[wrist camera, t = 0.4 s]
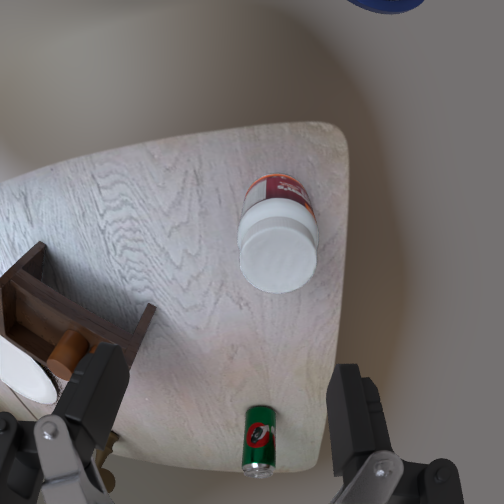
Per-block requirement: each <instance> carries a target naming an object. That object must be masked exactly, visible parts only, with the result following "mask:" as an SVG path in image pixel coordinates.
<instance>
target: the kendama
mask: <svg viewBox="0 0 504 504" xmlns="http://www.w3.org/2000/svg"><path fill="white" fill-rule="evenodd" d="M118 439H119V438H118V436H117V435H116V434H115V433H113V432H110V435H109V438H108V440H107V443H106V446H105V449H104V451H102V450H99V449H96V460H95V463H96V466H97V468H98V471H99V473H100V476H101V478H102V481H103V483H104V485H105V488H106V490H107V492H108V493H110V492H112V491H113V489H114V487H115V478H114V476H113V474H112V473H111V472H110V471H109V470H106V469H104V468H101V467H102V465H103V463H104V461H105V459H106V458H107V456H108V455H109V454H110V453H112V452H113V450H112V446H113V444H114V443H115V442H116V441H118Z"/></svg>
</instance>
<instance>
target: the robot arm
mask: <svg viewBox="0 0 504 504" xmlns="http://www.w3.org/2000/svg"><path fill="white" fill-rule="evenodd" d="M386 1H399V0H386ZM129 377H130V373H129V368H128V365H127V362H126V359H125V356H124V354H123V351H122V348H121V346H120V345H118V344H112V343H107V342H100V343H99V345H98V346H97V348H96V350H95V352H94V353H88V354H86V355H85V356H84V357H83V358H82V359H81V360H80V361H79V362H78V364H77V366H76V368H75V370H74V373H73V374H72V376H71V377H70V379H69V380H70V381H69V382H68V383H67V385H66V387H65V389H64V391H63V393H62V395H61V397H60V399H59V401H58V403H57V405H56V407H55V409H54V411H53V412H52V414H51V415H45V416H43V417H41V418H40V419H39V420H38V421H36V422H34V421H17V420H16V418H15V417H14V416H13V415H12V414H11V413H9V412H0V504H36V503H37V499H38V496H39V492H40V489H41V491H42V494H43V498H44V501H45V504H115V503H114V502H113V501H112V499H111V498H110V496H109V494H108V492H107V490H106V488H105V485H104V483H103V481H102V478H101V476H100V473H99V471H98V468H97V466H96V463H95V461H94V458H93V456H92V454H93V451H94V448H95V449H99V450H102V451H104V449H105V446H106V443H107V440H108V438H109V435H110V432H111V429H112V426H113V424H114V421H115V418H116V415H117V413H118V410H119V407H120V404H121V402H122V399H123V396H124V394H125V391H126V389H127V386H128V383H129ZM326 404H327V413H328V421H329V430H330V440H331V449H332V460H333V471H334V477H337V476H343V482H344V484H343V486H342V487H341V488H340V490H339V491H338V493H337V494H336V495H335V496H334V498H333V499H332V501H331V502H330V503H329V504H464V500H463V494H462V489H461V483H460V479H459V474H458V470H457V467H456V466H455V464H453V462H451V461H450V460H448V459H443V458H440V459H436V460H434V461H432V462H431V463H430V464H420V463H413V462H407V461H404V460H402V459H401V458H399V456H398V455H396V454H395V453H394V451H393V449H392V447H391V443H390V438H389V434H388V430H387V425H386V421H385V417H384V413H383V408H382V405H381V403H380V396H379V393H378V389H377V387H376V386H375V384H374V383H373V382H372V380H371V379H370V378H369V377H366V378H361V376H360V371H359V367H358V365H357V364H336V366H335V368H334V371H333V374H332V377H331V380H330V382H329V385H328V388H327V393H326ZM44 478H45V481H44V482H43V479H44ZM42 482H43V483H42Z"/></svg>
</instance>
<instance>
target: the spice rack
mask: <svg viewBox="0 0 504 504" xmlns="http://www.w3.org/2000/svg"><path fill="white" fill-rule="evenodd" d="M45 248H46V245H45V244H44V243H42V242H41V241H39V242H38V243H37V244H36V245H34V246H33V247H32V248H31V249H30V250H29V251H28V252H27V253H26V254H24V255H23V256H22V257H21V258H20V259H19V260H18V261H17V262H16V263H15V264H14V265H13V266H12V267H11V268H10V269H9V270H8V271H6V272H5V273H4V274H3V275H2V276H1V277H0V335H1V336H2V337H3V338H5V339H6V340H7V341H9V342H10V343H11V344H13V345H14V346H16V347H17V348H19V349H20V350H21V351H23V352H24V353H26V354H27V355H29V356H30V357H32V358H33V359H35V360H37V361H38V362H40V363H41V364H43V365H44V366H46V367H48V368H49V369H50V370H51V372H52V373H54V374H55V375H56V376H57V377H59V378H61V379H63V380H66V381H70V380H69V379H70V377H71V376H72V374H73V373H74V370H75V368H76V366H77V364H78V362H79V361H80V360H81V359H82V358H83V357H84V356H85V355H86V354H88V353H94V352H95V350H96V348H97V346H98V345H99V343H100V342H107V343H112V344H118V345H120V346H121V348H122V351H123V354H124V356H125V359H126V362H127V365H128V368H129V371H130V369H131V366H132V364H133V361H134V359H135V357H136V354H137V352H138V349H139V347H140V345H141V342H142V340H143V338H144V335H145V333H146V331H147V328H148V326H149V324H150V321H151V319H152V317H153V315H154V312H155V310H156V308H157V307H156V306H154V305H152V304H150V303H148V305H147V307H146V309H145V311H144V313H143V315H142V317H141V319H140V321H139V323H138V325H137V328H136V330H135V332H134V334H131V333H129V332H127V331H125V330H123V329H122V328H120V327H118V326H116V325H114V324H112V323H110V322H108V321H107V320H105V319H103V318H101V317H99V316H97V315H96V314H94V313H92V312H90V311H89V310H87V309H85V308H83V307H82V306H80V305H78V304H76V303H75V302H73V301H71V300H70V299H68V298H66V297H65V296H63V295H61V294H60V293H58V292H57V291H55V290H53V289H52V288H50V287H49V286H47V285H45V284H44V283H42V282H41V281H42V272H43V263H44V256H45Z"/></svg>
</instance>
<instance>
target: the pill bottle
mask: <svg viewBox="0 0 504 504" xmlns="http://www.w3.org/2000/svg"><path fill="white" fill-rule="evenodd" d="M237 243H238V247H239V250H240V258H239V263H240V268H241V271H242V273H243V275H244V277H245V279H246V280H247V281H248V282H249V283H250V284H251V285H253V286H254V287H255V288H257V289H259V290H261V291H264V292H267V293H273V294H282V293H288V292H292V291H295V290H297V289H299V288H301V287H302V286H303V285H305V284H306V283H307V282H308V281H309V280H310V279H311V277H312V276H313V274H314V272H315V270H316V266H317V252H316V250H317V247H318V243H319V231H318V226H317V223H316V219H315V216H314V213H313V210H312V207H311V203H310V200H309V198H308V195H307V193H306V191H305V189H304V187H303V186H302V184H301V183H300V182H299V181H297V180H296V179H295V178H293V177H291V176H289V175H286V174H281V173H273V174H268V175H265V176H262V177H260V178H259V179H257V180H256V181H255V182H254V183H253V184H252V185H251V186H250V188H249V189H248V191H247V193H246V196H245V200H244V204H243V209H242V214H241V218H240V223H239V227H238V232H237Z"/></svg>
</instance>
